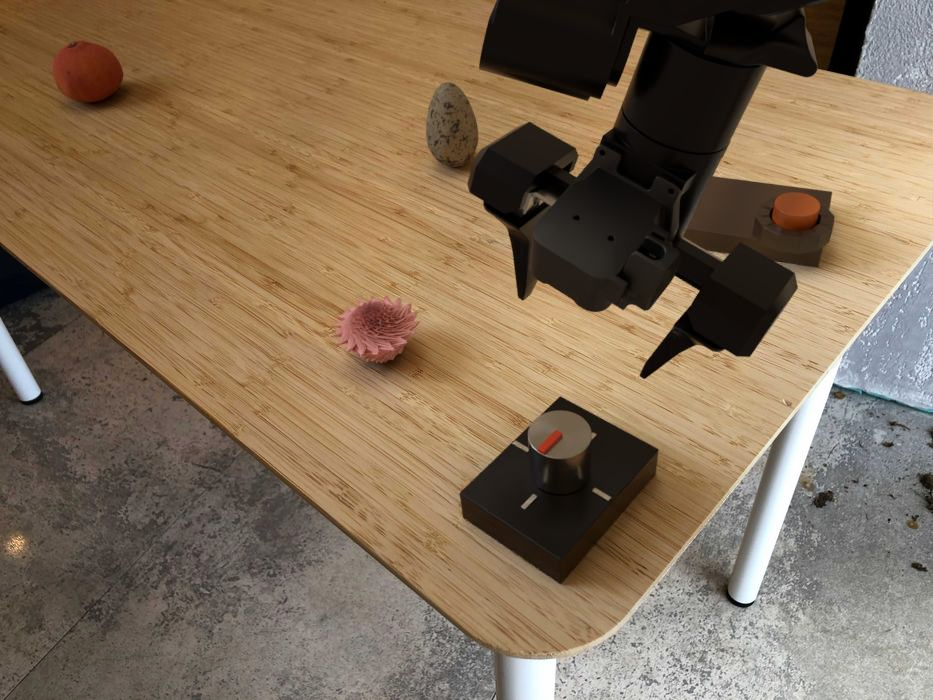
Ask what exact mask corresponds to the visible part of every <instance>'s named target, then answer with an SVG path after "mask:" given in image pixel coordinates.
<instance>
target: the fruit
mask: <svg viewBox="0 0 933 700" xmlns="http://www.w3.org/2000/svg"><path fill="white" fill-rule="evenodd" d="M121 64H122V63H120V61H119V58H117V56H116V55H115V53H113V51H112V50H110V49H109V48H107V47H106V46H104V45H101V44H98V43H95V42H91V41H86V40H80V39H79V40H73V41H72V42H70V43H68V44H66V45H65V46H64V47H62V48H61V49H60V50H59V51H58V52H57V54H56V55H55V57H54V59H53V62H52V68H51V69H52V70H51V71H52V72H51V73H52V76H53V80H54V83H55V85H56V87H57V89H58V91H60V92H61V94H63V95H64V96H66V97H67V98H69V99H72V100H74V101H77V102H81V103H93V102H95V103H96V102H101V101H103V100H105V99H108V98H109V97H111V96H112V95H114V93H115V92H116V91H117V90H118V89H119V88H120V86H121V84H122V82H123V81H124V70H123V66H122V65H121Z"/></svg>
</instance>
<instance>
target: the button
mask: <svg viewBox="0 0 933 700" xmlns="http://www.w3.org/2000/svg"><path fill="white" fill-rule="evenodd" d="M819 211H820V203H819V202H818V200H817V199H815V198H814V197H812V196H810V195H808V194H804V193H798V192H791V193H785V194H782V195H780V196H779V197H777V199H776V200H775V204H774V209H773V214H772V220H773V222H774V223H775V224H776V225H778V226H780V227H782V228H784V229H790V230H796V231H802V230H808V229H812V228H813V227H814V226H815V225H816V223H817V219H818V215H819Z"/></svg>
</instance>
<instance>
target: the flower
mask: <svg viewBox="0 0 933 700" xmlns="http://www.w3.org/2000/svg"><path fill="white" fill-rule="evenodd" d="M355 302H356V303H357V306H354V307H349V306H343V309H344V310H346V311H348V312H344V313H343V314H339V315H334V316H333V317H334V319H340V320H341V321H339V322H336V323H335V324H331V325H330V326H328V327H329V328H331V329H333V328H339V329H338V331H336V332H335V333H334V334H332V335H330V336H329V338H330V339H331V338H340V339H339V341H338V342H337V343H336V345H335V346H336V347H339V346H343V345H345V344H346V353H347V354H348V353H350V352H351V351H352V352H354V354H355V355H359V356H360V359H363V360H364V359H365V361H366V363H369V362H373V363H376V364H379V363H380V364H383V363H387V362H388V361H393V360H394V359H395V358H396V356H398V355H401V354H403V350H404V348H405V346H406V345H407V344H408V340H409V339H411V338H412V337H413V336H414V335H415V334H417V331H415V329H416V327H418V325H419V324H420V323H421V321H420V320H416V318H417V316H418V314H419V311H418V310H417V311H413V312H412V303H411V302H410V303H408V304H406V305H404V306H403V304H402V298H401V296H400V297H398V298H397V299H396V300H395V301H394V302H392V301H391V299H390V297H389V296H388V295H387V294H386V295H384V297H383V300H379V299H377V298H375V297H374V296H373V295H371V296H370V300H369V301H368V302H367V301H361V300H360V299H356V300H355Z"/></svg>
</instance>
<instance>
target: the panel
mask: <svg viewBox="0 0 933 700" xmlns="http://www.w3.org/2000/svg"><path fill="white" fill-rule="evenodd" d="M551 411H569V412H572V413H575V414H577V415H579V416H581V417H582V418H583V419H585V421H586V422H587V423H588V424H589V426H590V428H591V432H592V448H591V475H590V478H589V480H588V482H587V483H586V484H585V485H584V486H583V487H582V488H581V489H579V490H577V491H575V492H573V493H569V494H561V495H560V494H552V493H548V492H546V491H544V490H542V489H540V488H539V487H538V486H537V485H536V484H535V483H534V482H533V480H532V478H531V476H530V467H529V448H528V430H529V427H530V425H528V426H527V427H526V428H525V429H524V430H523V431H522V432H521V433H520V434H519V435H518V436H517V437H516V438H514V440H512V442H510V444H509V445H508V446H507V447H506V448H505V449H504V450H502V451H501V452H500V453H499V454H498V455H497V456H496V457H495V458H494V459H493V460H492V461H491V462H490V463H489V464H488V465H487V466H486V467H485V468H484V469H483V470H481V471H480V473H478V474H477V475H476V476H475V478H474V479H472V480H471V481H470V482H469V483H468V484H467V485H466V486H465V487H464V488H463V489H462V490H461V491H460V492H459V499H460V507H461V514H462V518H463V519H464V520H466V521H467V522H469V523H470V524H472V525H473V526H474V527H476V528H477V529H479V530H480V531H482V532H483V533H485V534H486V535H487V536H489V537H490V538H492V539H494V540H495V541H496V542H498V543H499V544H501V545H502V546H503V547H505V548H507V550H510V551H511V552H513V553H514V554H515V555H517V556H519V557H520V558H521V559H523V560H524V561H526V562H527V563H529V564H530V565H532V566H533V567H535V568H536V569H538V570H539V571H540V572H542V573H543V574H545V575H546V576H547V577H549V578H551V579H552V580H553V581H555V582H556V583H558V584H559V585H562V583H564V581H565V580H567V578H568V577H569V575H570V574H571V573H572V572H573V571H574V570H575V569H576V568H577V566H578V565H579V564H580V563H581V562H582V561H583V559H584V558H585V556H587V555H588V554H589V553H590V551H591V550H592V549H593V548H594V547H595V545H596V544H598V543H599V541H600V540H601V538H602V537H604V535H605V534H606V533H607V532H608V531H609V529H610V528H611V527H612V526H613V525H614V524H615V523H616V521H618V520H619V518H620V517H621V516H622V514H623V513H624V512H625V511H626V509H628V507H630V505H631V504H632V503H633V502H634V500H635V499H636V498H637V497H638V496H639V495H640V494H641V492H642V491H643V490H644V489H646V487H647V485H649V483H650V482H651V481H652V480H653V479H654V477H656V475H657V469H658V458H659V450H660V449H659V448H657V447H656V446H654V445H652V444H650V443H648V442H646V441H644V440H643V439H640V438H639V437H638V436H636V435H633V434H631V433H630V432H628V431H626V430H624V429H623V428H621V427H618V426H616V425H615V424H613V423H611V422H609V421H607V420H605V419H603V418H602V417H600V416H598V415H596V414H594V413H592V412H591V411H589V410H587V409H585V408H584V407H581V406H579V405H578V404H576V403H574V402H572V401H570V400H568V399H566V398H565V397H563V396H559V397H557V398H556V399H555V400H554V401H553V402H552V403H551V404H550V405H549V406H548V407H547V408H546V409H545V410H543V412H542V413H541V414H540V415H542V414H544V413H547V412H551Z"/></svg>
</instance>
